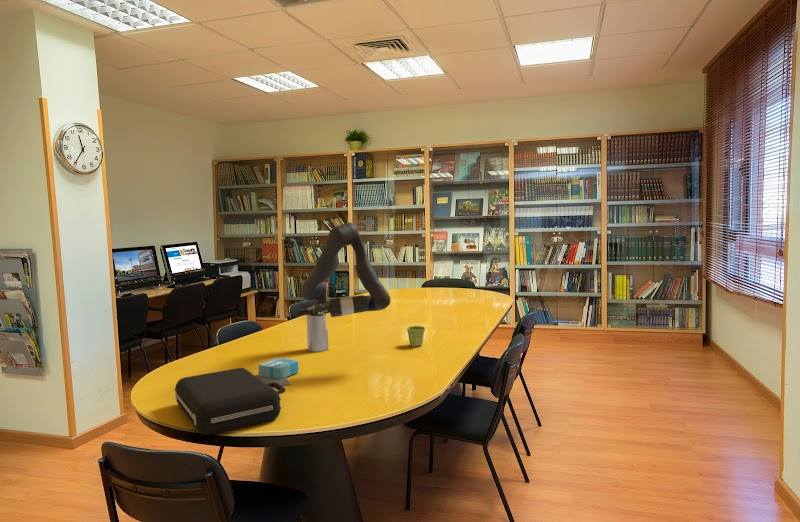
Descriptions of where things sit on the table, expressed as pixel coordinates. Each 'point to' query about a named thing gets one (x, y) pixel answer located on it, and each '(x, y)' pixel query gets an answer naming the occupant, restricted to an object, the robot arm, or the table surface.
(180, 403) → the briefcase
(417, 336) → the plant pot
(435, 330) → the table surface
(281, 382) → the mat
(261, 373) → the data package
